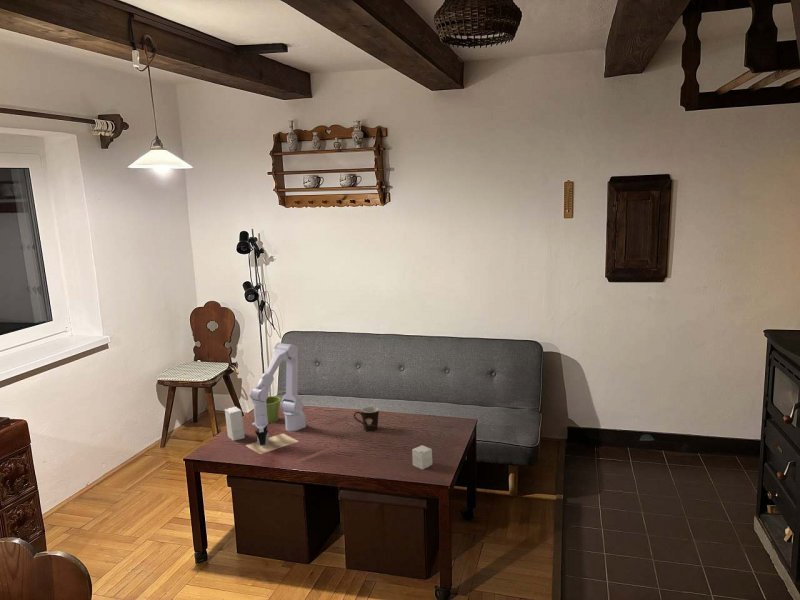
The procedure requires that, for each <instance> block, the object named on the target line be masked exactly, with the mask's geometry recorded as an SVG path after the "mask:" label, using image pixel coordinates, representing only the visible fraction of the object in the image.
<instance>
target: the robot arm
mask: <svg viewBox="0 0 800 600" xmlns="http://www.w3.org/2000/svg"><path fill="white" fill-rule="evenodd" d="M272 354H273V356H272V358H271V360H270V363H269V365H268V368H267V370H266V372H263V373H262V375H261V376H260V378H259V380H258V382H257V384H256V386H255V387H254V388H253V389H251V391H250V393H249V397H250V400H251V403H252V404H253V413H254V414H253V415H254V422H252V423H251V424H252V426H255V427H256V428H257V429H256V430H255V431H254V433H255V434H256V437H257V436H258V439H259V442H260V445H265V442H266V435H267V432H268V433H269V430H268V429H267V428H268V425H269V423H268V419H267V406H266V400H267V398H268V397H269V393H270V388H271V386H272V384H273V382H274V380H275V379H274V375H275V373H276V371H277V370H278V368H279V366H280V365H281V363H282V362H284V361H285V362H286V368H285V369H286V372H285V376H286V377H285V381H286V382H285V394H284V395H283V396H282V397H281V401H280V410H281V411H282V412H283V415H284V425H285V430H286V431H288V432H296V431H299V430H302V429H304V428H306V427H307V422H306V414H305V412H304V411H303V407H304V406H303V401H302V400H303V398H302V397H301V396H300V395H299V393H298V380H299V379H298V373H299V372H298V371H299V347H298V346H296V345H295V344H291V343H290V344H289V343H282V342H277V343H275V346H274V348H273V350H272Z"/></svg>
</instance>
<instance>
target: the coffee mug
mask: <svg viewBox="0 0 800 600" xmlns="http://www.w3.org/2000/svg"><path fill="white" fill-rule="evenodd" d="M379 413H380V409H379V407H376V406H366V407H362V408H361V409H360V411H356V412H354V414H353V417H354V419H355V420H356V421H357V422H359V423H361V424H362V425H363V429H364V431H365V430H366V431H365V432H367V431H373V432H376V431H378V428H379V427H378V424H379V415H380V414H379ZM356 414H360V415H361V418H362V421H361V420H359V419H358V418H357V417H356ZM375 430H376V431H375Z"/></svg>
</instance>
